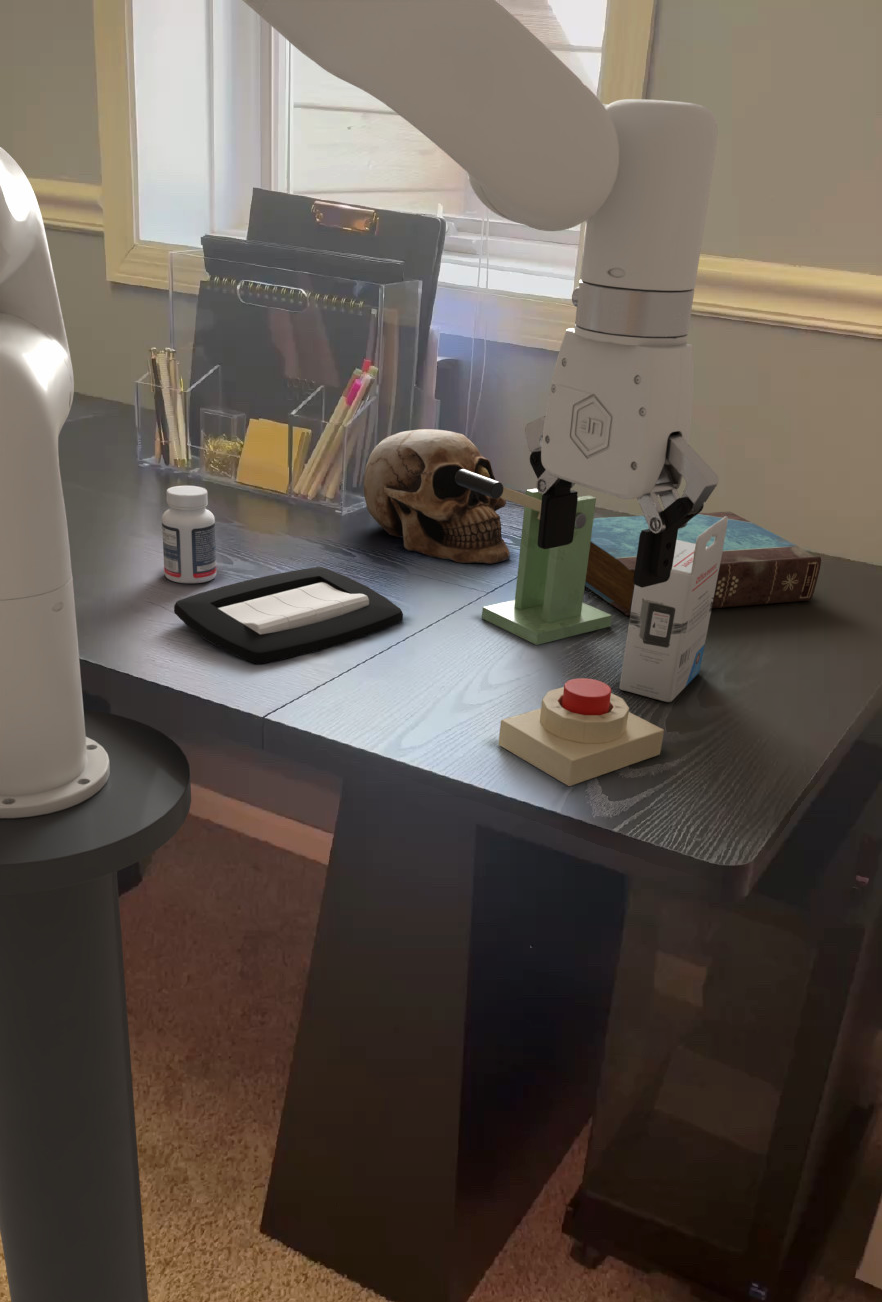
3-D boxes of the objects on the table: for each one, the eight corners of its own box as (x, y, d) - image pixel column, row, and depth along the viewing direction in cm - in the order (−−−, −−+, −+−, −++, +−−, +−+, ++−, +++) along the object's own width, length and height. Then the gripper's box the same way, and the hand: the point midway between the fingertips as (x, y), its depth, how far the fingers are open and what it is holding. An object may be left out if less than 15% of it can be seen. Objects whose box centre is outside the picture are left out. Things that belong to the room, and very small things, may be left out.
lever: (487, 502, 103) (496, 475, 102) (450, 487, 106) (460, 461, 106) (581, 535, 112) (591, 510, 112) (545, 521, 116) (554, 497, 115)
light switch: (255, 650, 102) (159, 590, 109) (253, 680, 103) (159, 619, 111) (418, 603, 115) (323, 552, 122) (414, 630, 116) (320, 578, 124)
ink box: (650, 660, 111) (676, 503, 104) (701, 673, 109) (731, 514, 102) (616, 690, 104) (641, 524, 97) (669, 704, 102) (699, 536, 95)
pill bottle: (219, 569, 125) (217, 484, 121) (213, 585, 121) (211, 498, 117) (167, 566, 125) (164, 482, 121) (160, 583, 120) (156, 496, 116)
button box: (568, 787, 88) (575, 738, 86) (497, 744, 93) (502, 698, 91) (660, 754, 94) (668, 708, 92) (588, 716, 99) (594, 672, 97)
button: (584, 722, 90) (587, 700, 89) (552, 704, 92) (554, 683, 91) (618, 711, 92) (621, 690, 91) (585, 694, 94) (588, 674, 93)
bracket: (536, 645, 112) (551, 511, 106) (481, 618, 118) (492, 489, 112) (610, 626, 118) (628, 498, 112) (554, 601, 123) (569, 478, 117)
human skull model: (508, 565, 132) (507, 441, 126) (354, 567, 134) (345, 444, 128) (514, 531, 146) (513, 418, 140) (374, 532, 148) (367, 421, 142)
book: (628, 617, 121) (636, 570, 118) (551, 562, 135) (556, 519, 132) (812, 602, 129) (822, 557, 126) (721, 551, 143) (728, 510, 141)
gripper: (503, 298, 83) (484, 540, 91) (697, 337, 71) (656, 609, 79) (579, 296, 87) (555, 526, 95) (774, 332, 76) (727, 590, 84)
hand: (601, 563), depth 87 cm, fingers open, 9 cm apart
